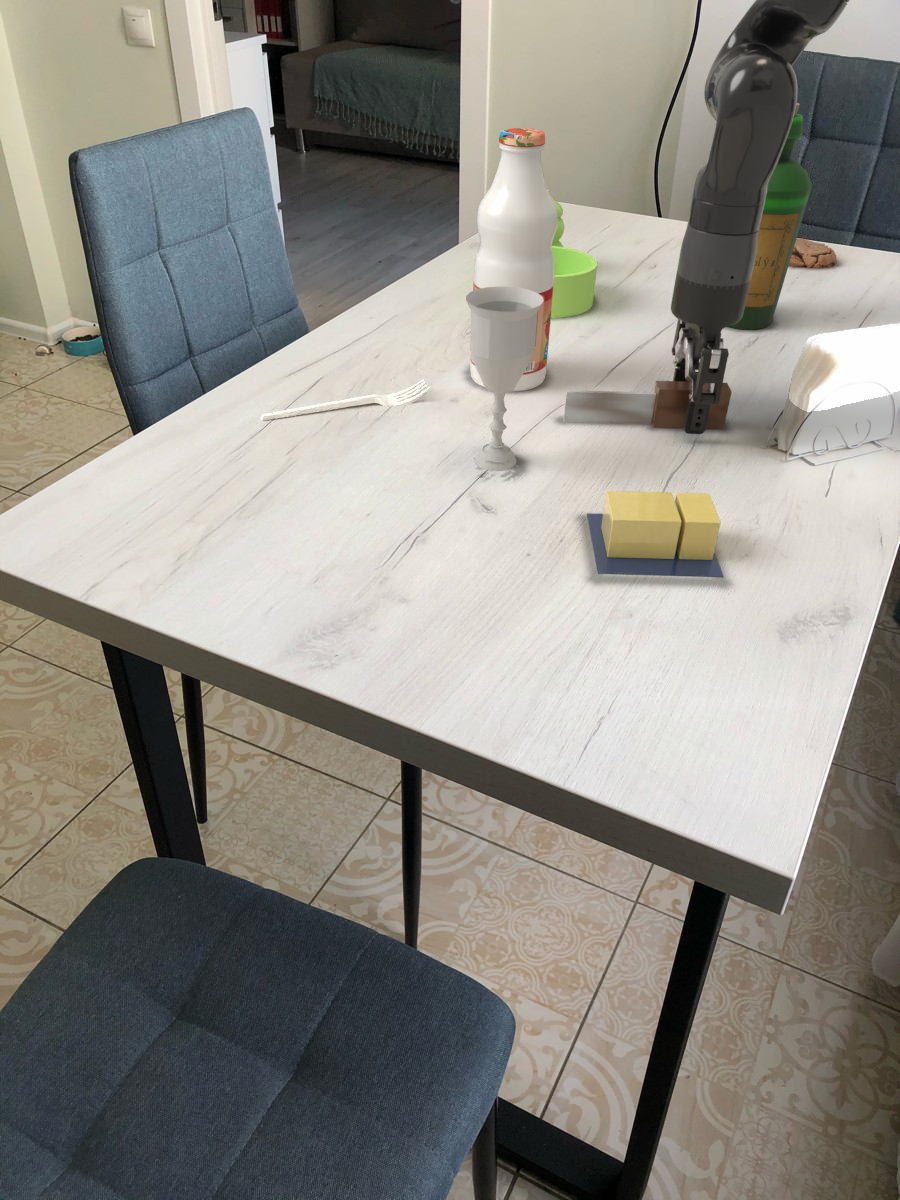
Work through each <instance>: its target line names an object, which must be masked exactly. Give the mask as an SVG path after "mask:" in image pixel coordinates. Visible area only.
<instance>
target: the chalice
mask: <svg viewBox="0 0 900 1200" xmlns="http://www.w3.org/2000/svg"><path fill="white" fill-rule="evenodd" d="M465 301H466V304H467V305H468V307H469V309H470V336H469V350H470V355H471V354H472V357H473V360H474V364H475V367H476V369H477V371H478V373H479V375H480V378H481V380H482V382H483V384H484V386H485V387H484V388H485V389H486V390H487V391H489V392H491V393H493V397H494V400H493V403H492V404H493V405H492V406H491V407H490V412H491V413H492V417H493V418H492V421H491V422H490V424H489V425H488V428H489V429H490V430H491V435H492V437H491V441H489V443H486V444H484V445H483V446H482V447H481V448H480V449H479V450H478V451H477V453H478V454H477V455H476V457H475V458H474V462H475V464H476V465H477V466H478V467H480V468H481V469H484V470H487V471H492V472H493V471H494V472H501V471H507V470H510V469H512V468H513V467H515V466H516V465H517V458H516V457H515V452H514V451H513V450H512V449H511V447H509V445H507V444H505V442H504V441H503V437H502V436H503V433H504V431H505V430H506V429H507V425H506V424H505V423H504V415H505V413H506V412H507V410H508V409H507V407H506V406H505V405H506V404H505V396H506V394H508V393H510V392H513V391H512V390H513V389H514V388H515V386H516V385H517V383H518V381H519V380H520V378H521V376H522V375H523V373H524V371H525V370H526V368H527V366H528V363H529V361H530V359H531V357H532V354H533V352H534V345H535V332H536V319H537V311H538V310H539V308H540V306H541V305H542V303H543V301H544V300H543V297H542V296H541V295H539V294H538V293H536V292H534V291H531V290H527V289H523V288H517V287H486V288H482V289H477V290H474V291H473V290H472V291H470V292H468V294H467V295H466V296H465Z"/></svg>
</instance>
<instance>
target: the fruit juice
mask: <svg viewBox="0 0 900 1200" xmlns="http://www.w3.org/2000/svg"><path fill="white" fill-rule="evenodd" d="M498 144H499V145H498V147H499V149H500V153H501V154H500V158H499V163H498V166H497V169H496V173H495V175H494V177H493V180H492V182H491V185H490V187H489V189H488V190H487V192H486V193H485V195H484V197H483V198H482V199H481V201H480V203H479V205H478V207H477V213H476V227H477V233H478V236H479V247H478V249H477V252H476V254H475V258H474V263H473V273H472V274H473V276H472V285H473V286H472V291H474V290H477V289H482V288H486V287H517V288H523V289H527V290H531V291H534V292H536V293H538V294H539V295H541V296H542V297H543V300H544V301H543V303H542V305H541V306H540V308H539V310H538V311H537V319H536V332H535V345H534V352H533V354H532V357H531V359H530V361H529V363H528V366H527V368H526V370H525V371H524V373H523V375H522V376H521V378H520V380H519V381H518V383H517V385H516V386H515V388H514V389H513V390H512V391H511V392H524V391H529V390H532V389H535V388H537V387H539V386H540V385H542V384H543V382H544V380H545V378H546V374H547V365H548V354H549V353H548V352H549V341H550V331H551V320H552V318H551V308H552V297H553V286H554V272H555V263H554V256H553V253H552V249H551V246H552V241H553V238H554V235H555V233H556V229H557V224H558V212H557V208H556V205H555V203H554V201H553V199H554V198H553V197H552V196H551V194H550V191H549V192H548V190H549V189H548V187H547V184H546V180H545V179H546V178H545V176H544V175H545V174H544V170H543V163H542V152H543V151H544V149H545V144H546V134H545V132H544V131H542V130H540V129H536V128H530V127H509V128H504V129H501V130H500V132H499V136H498ZM547 189H548V190H547ZM469 369H470V376H471V379H472V380H473V381H474V382H475V383H476V384H478V385H479V386H481V387H484V388H485V386H484V384H483V382H482V380H481V378H480V375H479V373H478V371H477V369H476V367H475V364H474V360H473V357H472V354H471V353H470V365H469Z"/></svg>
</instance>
